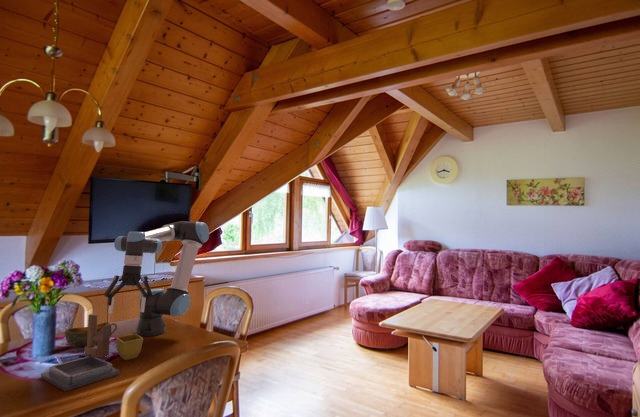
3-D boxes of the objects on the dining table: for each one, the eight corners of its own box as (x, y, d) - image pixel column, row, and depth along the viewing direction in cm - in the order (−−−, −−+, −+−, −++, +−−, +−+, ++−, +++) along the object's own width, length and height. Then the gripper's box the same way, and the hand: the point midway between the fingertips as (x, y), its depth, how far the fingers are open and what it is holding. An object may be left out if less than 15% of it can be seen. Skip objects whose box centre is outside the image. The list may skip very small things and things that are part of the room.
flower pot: (142, 358, 174) (143, 338, 174) (122, 363, 168) (123, 342, 168) (134, 353, 180) (135, 333, 180) (114, 357, 174) (115, 337, 174)
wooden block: (102, 358, 172) (104, 317, 173) (84, 354, 176) (86, 314, 176) (109, 355, 176) (111, 315, 176) (91, 352, 179) (93, 313, 180)
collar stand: (94, 362, 167) (94, 353, 167) (119, 374, 156) (120, 364, 156) (40, 377, 151) (41, 367, 151) (64, 391, 140) (65, 380, 140)
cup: (101, 350, 181) (102, 328, 182) (61, 348, 183) (62, 326, 184) (118, 342, 194) (118, 321, 195) (80, 340, 196) (81, 320, 196)
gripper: (105, 264, 168) (98, 314, 165) (162, 266, 185) (157, 312, 182) (100, 263, 173) (93, 312, 170) (156, 265, 190) (151, 310, 187)
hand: (126, 312), depth 176 cm, fingers open, 13 cm apart
